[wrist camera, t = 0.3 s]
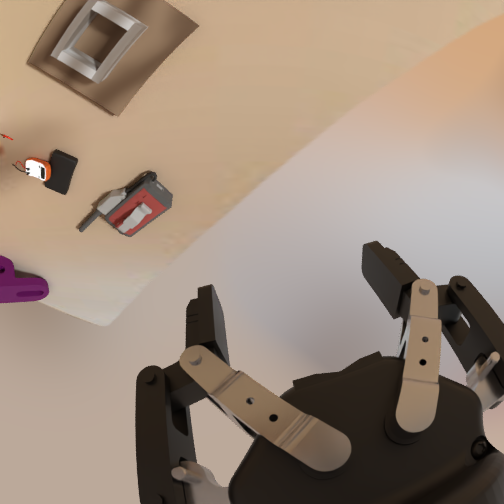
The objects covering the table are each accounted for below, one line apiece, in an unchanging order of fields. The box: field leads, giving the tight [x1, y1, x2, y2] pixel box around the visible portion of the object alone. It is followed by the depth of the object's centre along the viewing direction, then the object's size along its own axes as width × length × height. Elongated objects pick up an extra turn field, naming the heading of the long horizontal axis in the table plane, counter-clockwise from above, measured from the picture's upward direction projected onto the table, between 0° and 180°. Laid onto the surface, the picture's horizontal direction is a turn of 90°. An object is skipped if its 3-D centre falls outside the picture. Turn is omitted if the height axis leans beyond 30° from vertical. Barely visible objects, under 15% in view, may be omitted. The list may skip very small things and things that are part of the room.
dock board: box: [28, 0, 199, 116], centre depth 20 cm, size 18×16×5 cm
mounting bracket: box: [0, 256, 49, 303], centre depth 49 cm, size 9×8×18 cm
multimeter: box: [1, 134, 78, 195], centre depth 31 cm, size 18×12×3 cm, turn 45°
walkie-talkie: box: [79, 172, 173, 237], centre depth 42 cm, size 9×4×20 cm
